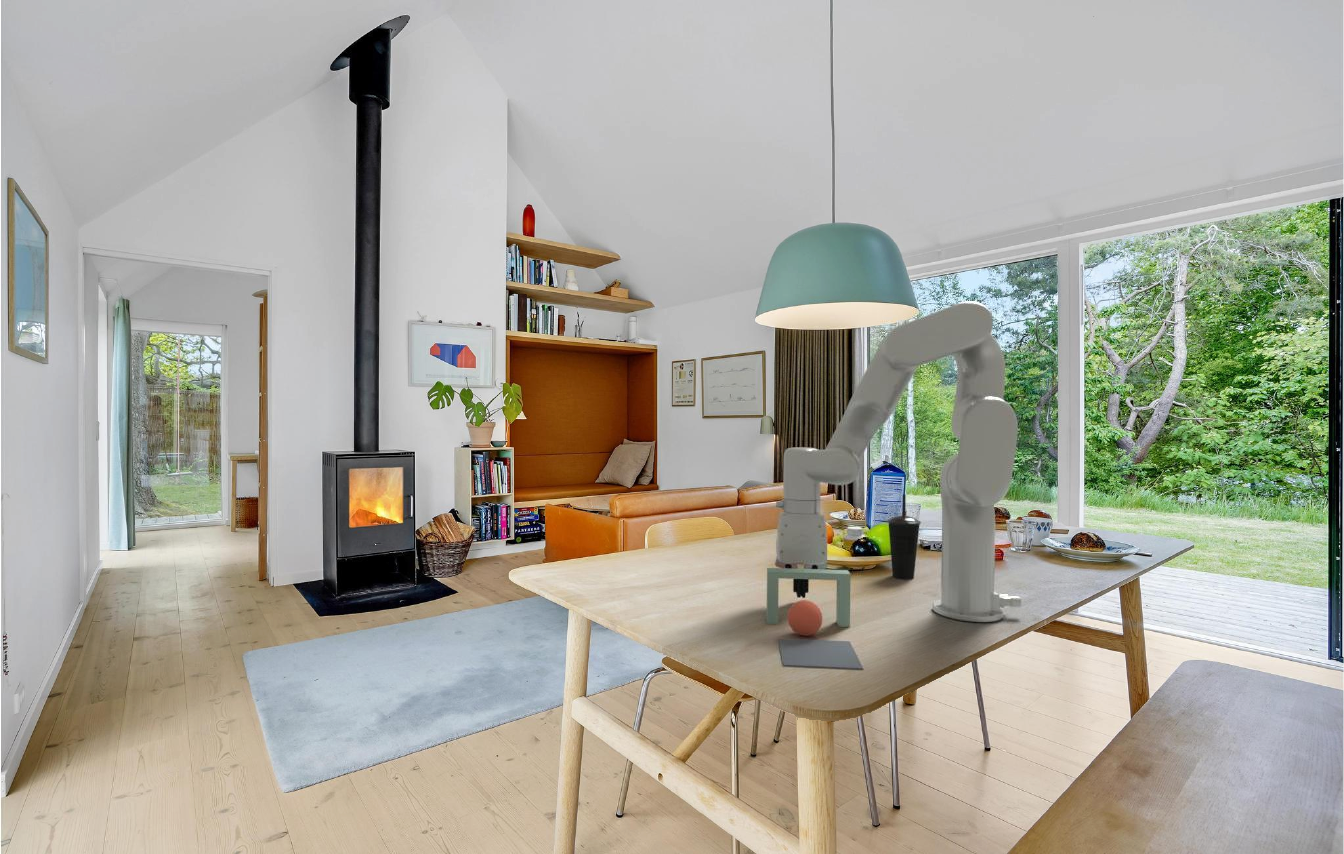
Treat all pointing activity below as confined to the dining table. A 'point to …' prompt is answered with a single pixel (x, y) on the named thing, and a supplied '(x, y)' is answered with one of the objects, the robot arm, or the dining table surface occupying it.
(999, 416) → the robot arm
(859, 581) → the dining table surface
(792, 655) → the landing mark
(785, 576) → the bridge
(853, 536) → the supplement bottle
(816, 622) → the ball
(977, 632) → the dining table surface
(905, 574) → the drinking cup
